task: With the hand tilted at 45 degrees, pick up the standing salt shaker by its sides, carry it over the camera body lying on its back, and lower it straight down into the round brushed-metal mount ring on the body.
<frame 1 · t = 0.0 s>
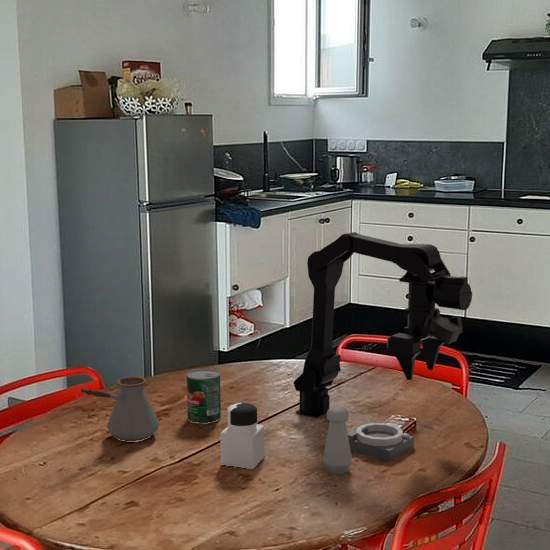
hand: (420, 374, 185), 15 cm above the table, tool pointing down, fingers open, 9 cm apart
camera body: (379, 448, 182), on the table
coffee pot: (118, 444, 186), on the table
canned tomato: (204, 419, 202), on the table
medicine bottle: (243, 462, 176), on the table
salt shaker: (337, 471, 171), on the table
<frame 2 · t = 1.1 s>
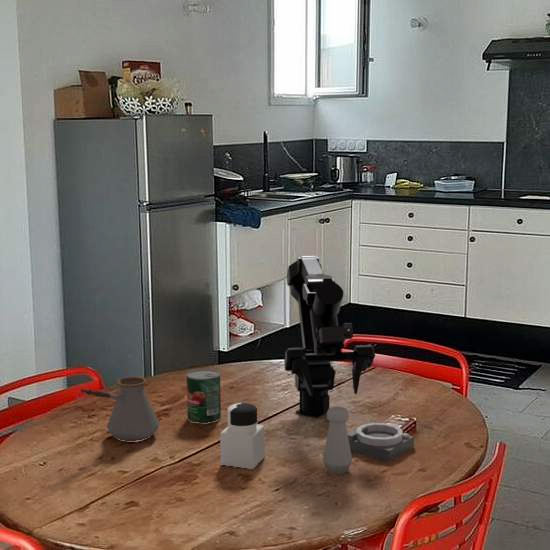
hand: (334, 394, 177), 13 cm above the table, tool tilted 45°, fingers open, 9 cm apart
nothing on the table moved.
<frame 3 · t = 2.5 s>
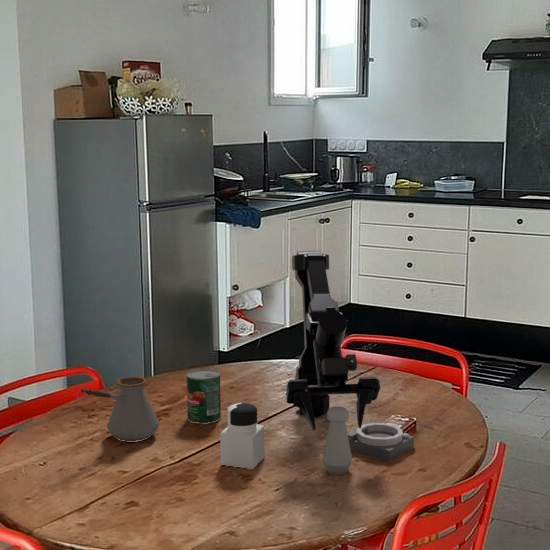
hand: (337, 428, 170), 9 cm above the table, tool tilted 45°, fingers open, 9 cm apart
nothing on the table moved.
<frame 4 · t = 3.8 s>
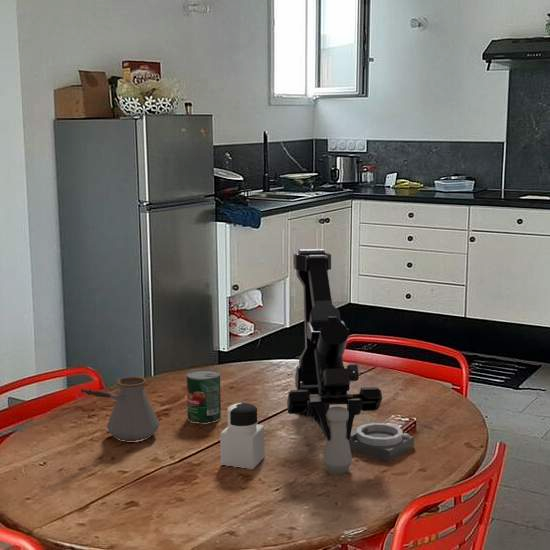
hand: (338, 439, 168), 7 cm above the table, tool tilted 45°, fingers closed on salt shaker, 4 cm apart
salt shaker: (337, 471, 171), on the table, touching gripper
everything else where it was.
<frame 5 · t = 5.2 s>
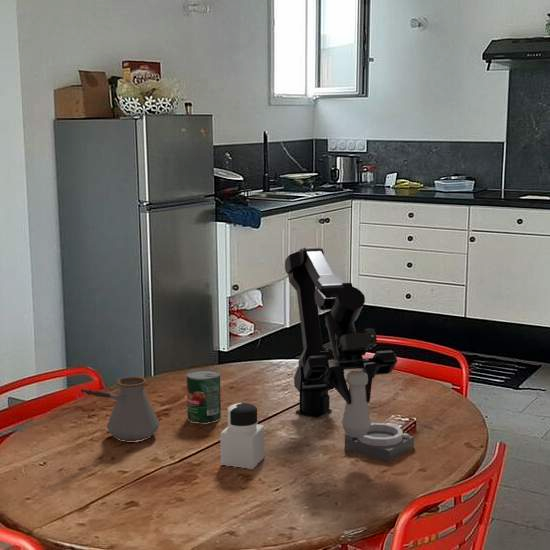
hand: (359, 402, 171), 13 cm above the table, tool tilted 45°, fingers closed on salt shaker, 4 cm apart
salt shaker: (356, 434, 174), point 6 cm above the table, touching gripper
everything else where it was.
when the fingers open (10 cm above the table, at t = 6.9 s): salt shaker stays where it is, resting on camera body.
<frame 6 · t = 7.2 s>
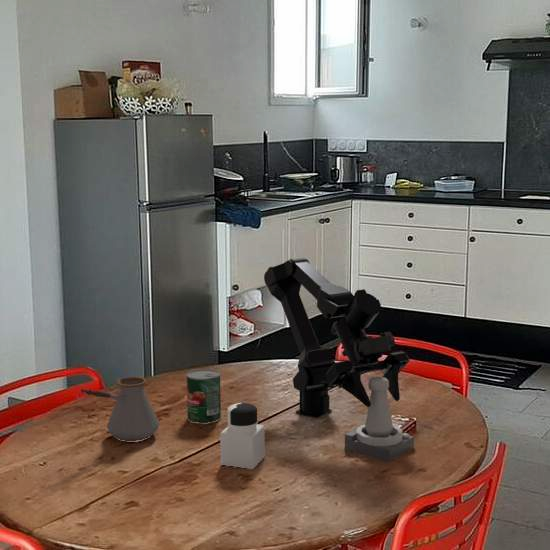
hand: (384, 403, 179), 11 cm above the table, tool tilted 45°, fingers open, 7 cm apart
salt shaker: (378, 438, 182), point 2 cm above the table, touching camera body
everything else where it was.
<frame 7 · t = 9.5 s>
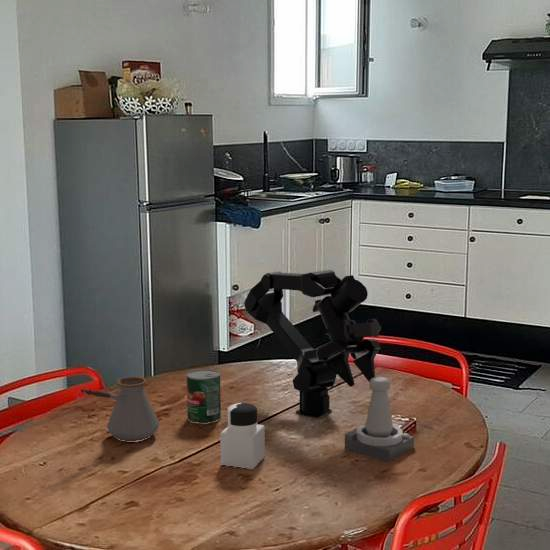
hand: (363, 384, 189), 11 cm above the table, tool tilted 35°, fingers open, 9 cm apart
nothing on the table moved.
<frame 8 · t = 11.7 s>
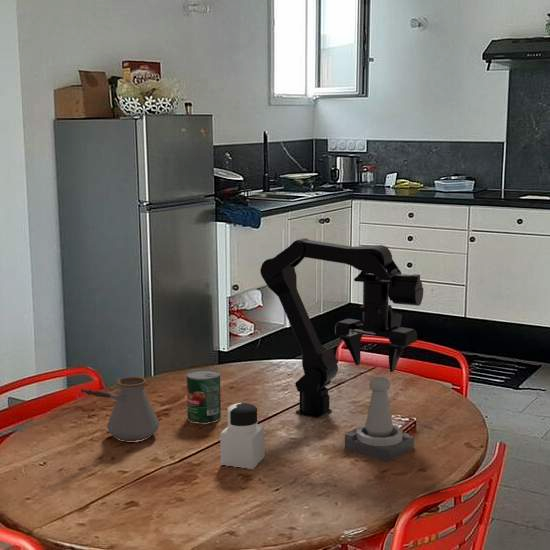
hand: (374, 368, 196), 13 cm above the table, tool pointing down, fingers open, 9 cm apart
nothing on the table moved.
at the end: salt shaker 0.2 cm from the camera body (horizontally); salt shaker tilted 0°; salt shaker point 2.3 cm above the table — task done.
